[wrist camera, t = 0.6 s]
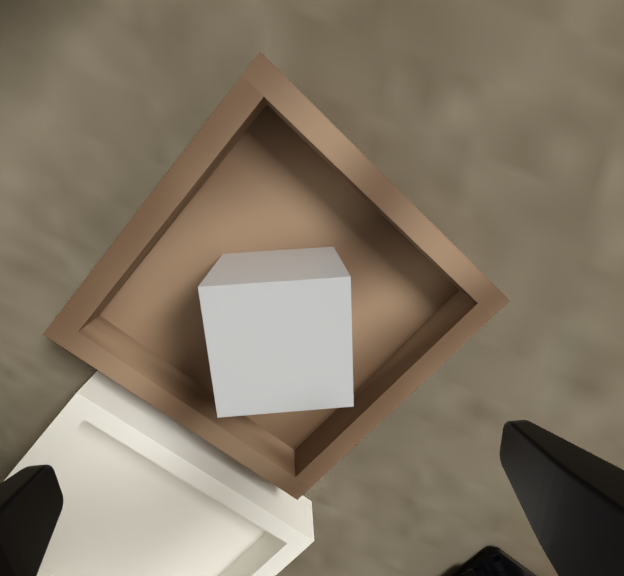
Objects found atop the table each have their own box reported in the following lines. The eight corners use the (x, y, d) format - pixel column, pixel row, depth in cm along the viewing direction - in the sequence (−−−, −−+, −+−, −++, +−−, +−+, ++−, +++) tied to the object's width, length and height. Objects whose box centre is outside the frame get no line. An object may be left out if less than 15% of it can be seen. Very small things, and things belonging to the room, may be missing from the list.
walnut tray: (482, 284, 19) (509, 300, 17) (296, 463, 22) (297, 500, 19) (264, 69, 16) (260, 51, 13) (75, 312, 18) (43, 334, 16)
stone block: (333, 246, 17) (350, 276, 13) (337, 346, 19) (353, 406, 14) (222, 253, 17) (197, 286, 12) (235, 353, 19) (217, 417, 14)
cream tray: (311, 501, 22) (314, 540, 20) (169, 633, 25) (156, 681, 23) (103, 364, 19) (77, 392, 17) (-37, 533, 22) (-77, 578, 19)
